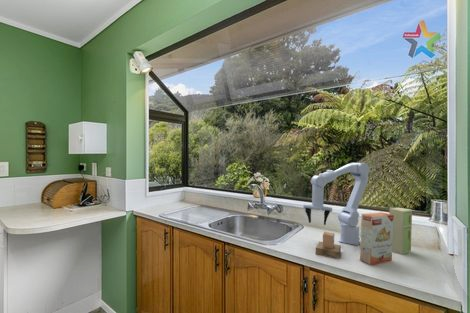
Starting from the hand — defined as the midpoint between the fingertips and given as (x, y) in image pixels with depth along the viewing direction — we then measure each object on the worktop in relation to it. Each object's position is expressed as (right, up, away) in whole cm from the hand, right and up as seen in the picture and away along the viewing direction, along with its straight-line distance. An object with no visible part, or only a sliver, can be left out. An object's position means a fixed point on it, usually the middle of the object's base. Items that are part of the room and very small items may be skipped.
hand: (317, 223), depth 128 cm
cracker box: (+19, -11, -21) cm, 31 cm away
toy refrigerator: (+38, -12, -9) cm, 41 cm away
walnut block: (+1, -10, -13) cm, 17 cm away
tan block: (+1, -7, -13) cm, 15 cm away
